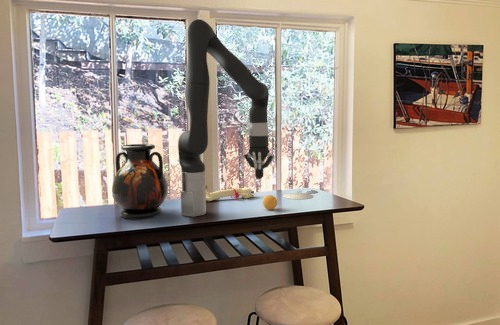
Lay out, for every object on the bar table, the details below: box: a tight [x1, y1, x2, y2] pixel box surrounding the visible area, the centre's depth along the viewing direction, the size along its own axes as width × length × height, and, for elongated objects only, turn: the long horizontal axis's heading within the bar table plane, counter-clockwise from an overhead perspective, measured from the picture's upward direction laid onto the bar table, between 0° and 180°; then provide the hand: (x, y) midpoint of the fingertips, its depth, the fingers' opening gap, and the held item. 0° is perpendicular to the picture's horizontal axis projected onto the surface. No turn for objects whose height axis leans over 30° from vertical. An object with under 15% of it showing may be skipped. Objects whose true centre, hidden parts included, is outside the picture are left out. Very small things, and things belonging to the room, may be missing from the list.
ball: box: [262, 194, 278, 211], centre depth 178 cm, size 6×6×6 cm
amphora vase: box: [111, 143, 169, 220], centre depth 170 cm, size 22×22×28 cm
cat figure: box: [205, 184, 256, 202], centre depth 199 cm, size 10×9×25 cm
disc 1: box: [283, 192, 314, 200], centre depth 204 cm, size 14×14×1 cm
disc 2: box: [296, 189, 318, 195], centre depth 214 cm, size 10×10×1 cm
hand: (259, 178), depth 168 cm, fingers closed
